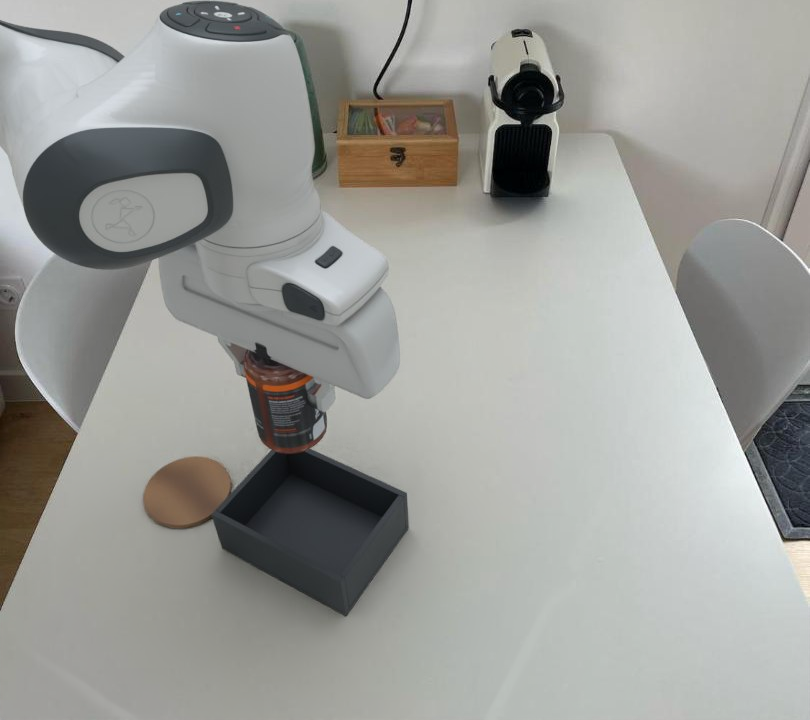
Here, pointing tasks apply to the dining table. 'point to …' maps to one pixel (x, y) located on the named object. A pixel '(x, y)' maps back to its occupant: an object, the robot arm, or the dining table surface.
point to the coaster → (186, 492)
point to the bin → (313, 525)
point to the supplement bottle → (282, 404)
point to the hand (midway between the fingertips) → (286, 388)
